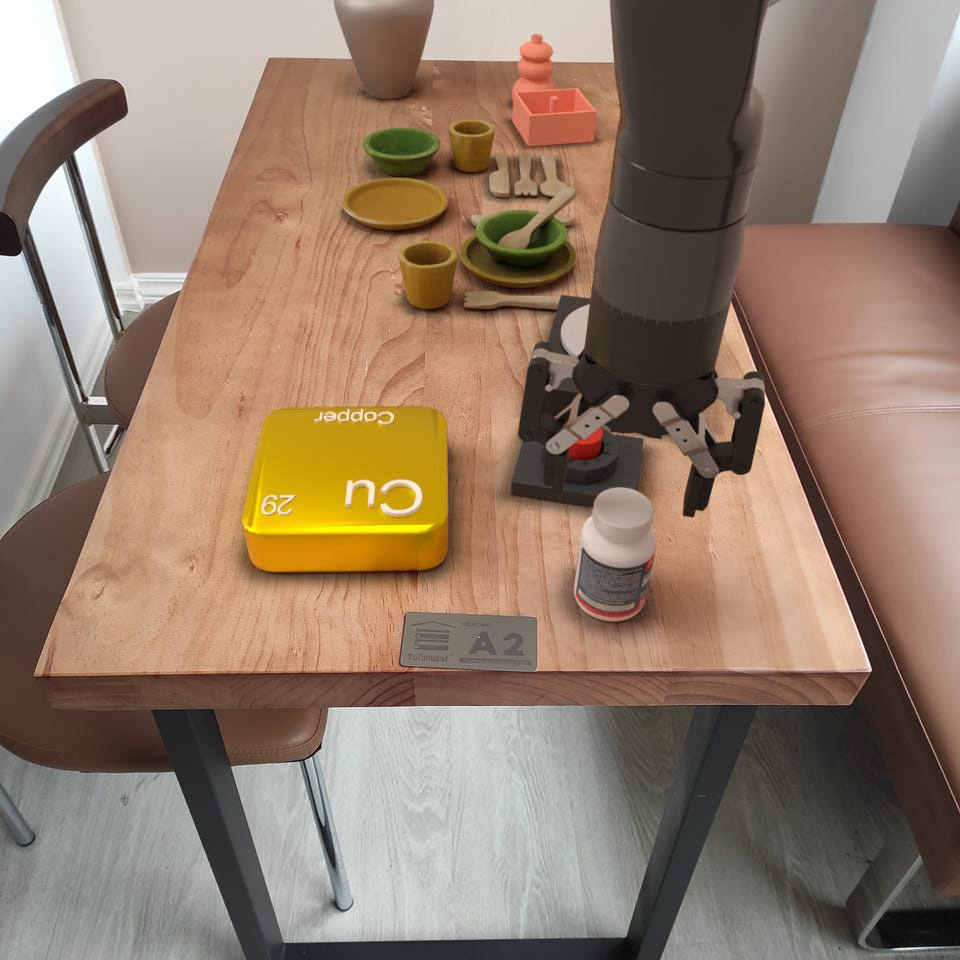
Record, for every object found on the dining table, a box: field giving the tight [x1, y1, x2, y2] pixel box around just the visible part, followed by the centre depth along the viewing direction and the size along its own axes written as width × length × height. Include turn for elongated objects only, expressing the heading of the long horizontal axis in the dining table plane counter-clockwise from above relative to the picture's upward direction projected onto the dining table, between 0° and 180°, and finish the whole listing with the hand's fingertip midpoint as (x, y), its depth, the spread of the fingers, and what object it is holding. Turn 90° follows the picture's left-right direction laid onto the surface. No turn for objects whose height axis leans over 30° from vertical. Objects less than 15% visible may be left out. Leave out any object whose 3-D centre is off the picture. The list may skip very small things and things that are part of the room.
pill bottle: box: [573, 487, 658, 622], centre depth 65 cm, size 5×5×9 cm
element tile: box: [241, 405, 449, 573], centre depth 73 cm, size 15×15×5 cm
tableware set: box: [340, 118, 577, 311], centre depth 108 cm, size 41×28×6 cm
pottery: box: [511, 33, 598, 147], centre depth 132 cm, size 18×10×10 cm, turn 13°
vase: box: [333, 0, 435, 100], centre depth 134 cm, size 14×14×25 cm
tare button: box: [569, 428, 603, 460], centre depth 75 cm, size 3×3×2 cm
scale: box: [543, 294, 591, 417], centre depth 87 cm, size 14×16×4 cm
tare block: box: [510, 426, 645, 508], centre depth 77 cm, size 10×8×3 cm
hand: (623, 497), depth 61 cm, fingers open, 8 cm apart
